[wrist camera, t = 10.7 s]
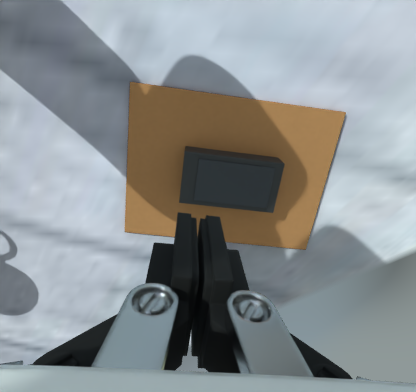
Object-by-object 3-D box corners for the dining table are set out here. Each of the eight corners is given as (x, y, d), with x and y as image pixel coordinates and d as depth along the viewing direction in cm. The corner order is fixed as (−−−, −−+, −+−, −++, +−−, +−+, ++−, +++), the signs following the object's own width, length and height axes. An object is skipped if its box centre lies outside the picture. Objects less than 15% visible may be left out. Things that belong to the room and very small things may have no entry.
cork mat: (125, 230, 38) (124, 232, 37) (130, 81, 31) (129, 82, 31) (304, 247, 40) (305, 250, 39) (344, 112, 33) (346, 112, 33)
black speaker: (178, 203, 33) (273, 213, 34) (184, 151, 31) (285, 164, 32) (180, 194, 36) (267, 203, 37) (185, 145, 34) (278, 157, 34)
